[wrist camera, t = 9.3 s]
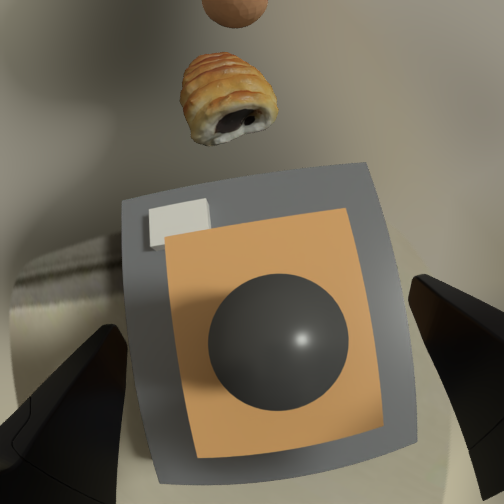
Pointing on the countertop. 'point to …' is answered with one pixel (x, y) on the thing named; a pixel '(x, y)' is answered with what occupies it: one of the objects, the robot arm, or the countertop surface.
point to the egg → (234, 11)
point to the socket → (162, 334)
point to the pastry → (225, 99)
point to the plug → (273, 334)
